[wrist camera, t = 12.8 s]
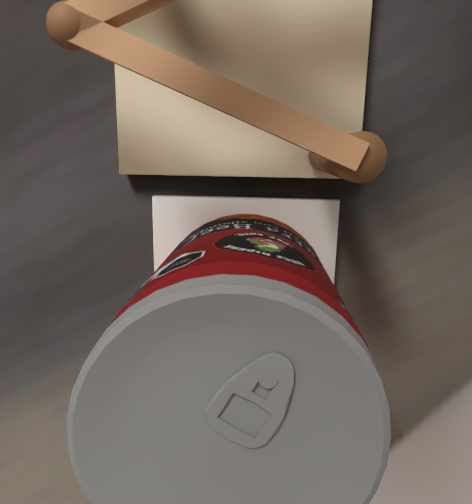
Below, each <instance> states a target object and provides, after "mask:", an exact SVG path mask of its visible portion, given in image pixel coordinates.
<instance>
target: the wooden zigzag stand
mask: <svg viewBox="0 0 472 504" xmlns="http://www.w3.org/2000/svg"><path fill="white" fill-rule="evenodd" d="M371 13H372V0H68V1H60V2H57V3H55V4H54V5H53V6H52V7H51V8H50V9H49V11H48V13H47V16H46V27H47V30H48V33H49V35H50V37H51V38H52V40H53V41H54V42H55V43H56V44H57V45H59V46H60V47H62V48H64V49H67V50H80V49H84V50H86V51H88V52H90V53H92V54H95V55H97V56H99V57H101V58H104V59H106V60H108V61H110V62H112V63H115V84H116V107H117V130H118V153H119V174H139V175H188V176H237V177H287V178H336V179H345V180H348V181H350V182H353V183H366V182H369V181H372V180H373V179H375V178H376V177H378V176H379V175H380V174H381V172H382V171H383V169H384V168H385V165H386V162H387V149H386V146H385V144H384V142H383V141H382V140H381V138H380V137H378V136H377V135H375V134H374V133H371V132H367V131H362V126H363V113H364V101H365V88H366V76H367V63H368V51H369V38H370V26H371Z"/></svg>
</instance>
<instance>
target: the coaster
mask: <svg viewBox="0 0 472 504" xmlns="http://www.w3.org/2000/svg"><path fill="white" fill-rule="evenodd" d="M339 206H340V200H338V199H308V198H263V197H219V196H175V195H154V196H152V208H153V245H154V272H155V271H156V270H157V269H158V267H159V266H160V265H161V264H162V263H163V262H164V261H165V259H166V258H167V257H168V256H169V255H170V254H171V253H172V251H173V250H174V249H175V248H176V247H177V246H178V244H179V243H180V242H182V241H183V240H184V239H185V238H186V237H187V236H188V235H189V234H190V233H191V232H192V231H194V230H196V229H197V228H199V227H200V226H202V225H203V224H205V223H207V222H210V221H212V220H215V219H218V218H220V217H223V216H229V215H235V214H257V215H262V216H266V217H270V218H274V219H276V220H278V221H280V222H282V223H285V224H287V225H289V226H290V227H292V228H293V229H294V230H296V231H297V232H298V233H300V234H301V235H302V236H303V237H304V238H305V239H306V240H307V242H308V243H309V244H310V245H311V246H312V247H313V249H314V250H315V252H316V254H317V256H318V258H319V259H320V261H321V263H322V265H323V267H324V268H325V270H326V272H327V274H328V275H329V277H330V279H331V281H332V283H333V284H334V276H335V262H336V248H337V234H338V220H339Z"/></svg>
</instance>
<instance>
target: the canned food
mask: <svg viewBox="0 0 472 504" xmlns="http://www.w3.org/2000/svg"><path fill="white" fill-rule="evenodd" d="M390 442H391V424H390V408H389V404H388V401H387V397H386V394H385V390H384V387H383V383H382V380H381V377H380V373H379V370H378V367H377V364H376V362H375V360H374V358H373V357H372V355H371V353H370V351H369V349H368V346H367V344H366V342H365V340H364V338H363V336H362V335H361V333H360V331H359V329H358V328H357V326H356V324H355V322H354V320H353V319H352V317H351V315H350V313H349V311H348V310H347V308H346V306H345V304H344V302H343V301H342V299H341V297H340V295H339V293H338V292H337V290H336V288H335V286H334V284H333V283H332V281H331V279H330V277H329V275H328V274H327V272H326V270H325V268H324V267H323V265H322V263H321V261H320V259H319V258H318V256H317V254H316V252H315V250H314V249H313V247H312V246H311V245H310V244H309V243H308V242H307V240H306V239H305V238H304V237H303V236H302V235H301V234H300V233H298V232H297V231H296V230H294V229H293V228H292V227H290V226H289V225H287V224H285V223H282V222H280V221H278V220H276V219H274V218H270V217H266V216H262V215H257V214H235V215H229V216H223V217H220V218H218V219H215V220H212V221H210V222H207V223H205V224H203V225H202V226H200V227H199V228H197V229H196V230H194V231H192V232H191V233H190V234H189V235H188V236H187V237H186V238H185V239H184V240H183V241H182V242H180V243H179V244H178V246H177V247H176V248H175V249H174V250H173V251H172V253H171V254H170V255H169V256H168V257H167V258H166V259H165V261H164V262H163V263H162V264H161V265H160V266H159V267H158V269H157V270H156V271H155V272H154V273H153V274H152V275H151V277H150V278H149V279H148V280H147V281H146V282H145V283H144V285H143V286H142V287H141V288H140V289H139V290H138V291H137V293H136V294H135V295H134V296H133V297H132V298H131V299H130V301H129V302H128V303H127V304H126V305H125V306H124V307H123V309H122V310H121V311H120V312H119V314H118V315H117V317H116V318H115V319H114V320H113V322H112V323H111V324H110V325H109V326H108V328H107V329H106V330H105V332H104V333H103V335H102V336H101V337H100V339H99V340H98V342H97V343H96V345H95V346H94V347H93V349H92V350H91V352H90V354H89V356H88V358H87V360H86V361H85V363H84V364H83V366H82V369H81V371H80V374H79V376H78V378H77V381H76V383H75V385H74V388H73V390H72V393H71V399H70V404H69V410H68V415H67V446H68V452H69V456H70V460H71V464H72V468H73V472H74V475H75V477H76V480H77V482H78V484H79V486H80V488H81V490H82V492H83V494H84V496H85V498H86V500H87V501H88V503H89V504H369V502H370V501H371V499H372V497H373V496H374V494H375V493H376V491H377V488H378V486H379V483H380V481H381V478H382V476H383V473H384V471H385V468H386V466H387V460H388V454H389V448H390Z"/></svg>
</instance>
